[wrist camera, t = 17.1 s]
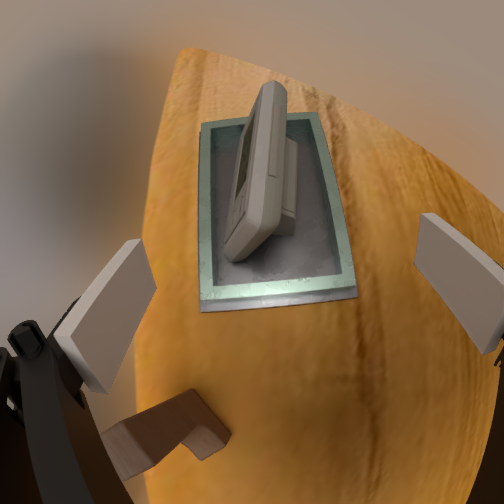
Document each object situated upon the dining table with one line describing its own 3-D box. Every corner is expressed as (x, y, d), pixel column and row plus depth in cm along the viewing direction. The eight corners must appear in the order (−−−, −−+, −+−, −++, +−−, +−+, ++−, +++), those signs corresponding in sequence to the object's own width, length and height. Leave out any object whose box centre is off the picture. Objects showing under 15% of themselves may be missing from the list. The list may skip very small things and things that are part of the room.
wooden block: (170, 403, 27) (88, 441, 12) (192, 387, 27) (120, 420, 13) (208, 449, 25) (156, 520, 10) (232, 434, 25) (193, 506, 11)
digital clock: (245, 136, 34) (234, 71, 24) (315, 150, 33) (325, 85, 23) (198, 254, 30) (161, 211, 20) (281, 278, 29) (284, 243, 19)
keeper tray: (319, 125, 35) (322, 107, 32) (355, 298, 28) (365, 292, 25) (201, 136, 36) (195, 119, 33) (202, 312, 29) (192, 309, 26)
